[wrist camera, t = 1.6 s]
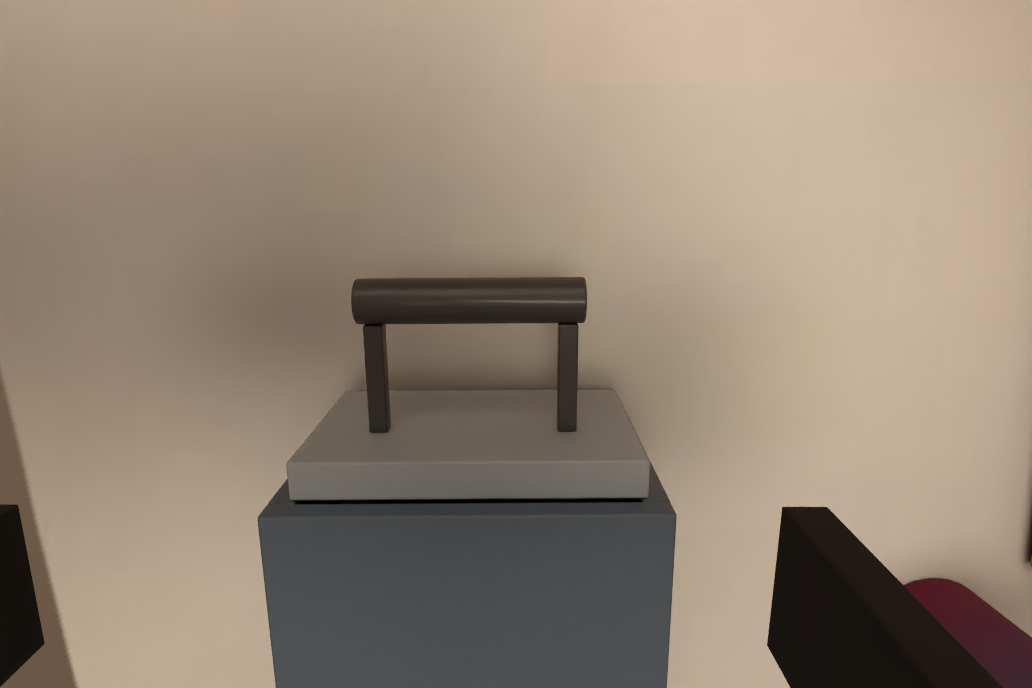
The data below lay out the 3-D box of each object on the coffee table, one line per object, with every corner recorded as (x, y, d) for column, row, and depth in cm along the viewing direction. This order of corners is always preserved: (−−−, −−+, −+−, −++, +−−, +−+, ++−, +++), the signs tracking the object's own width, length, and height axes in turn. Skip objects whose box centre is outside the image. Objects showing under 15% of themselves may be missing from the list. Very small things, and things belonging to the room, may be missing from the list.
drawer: (336, 263, 24) (268, 292, 17) (618, 261, 24) (658, 290, 17) (364, 667, 28) (319, 815, 21) (606, 665, 28) (634, 813, 21)
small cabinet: (338, 412, 26) (255, 517, 18) (625, 410, 26) (677, 514, 18) (359, 696, 30) (298, 898, 21) (615, 694, 30) (655, 896, 21)
